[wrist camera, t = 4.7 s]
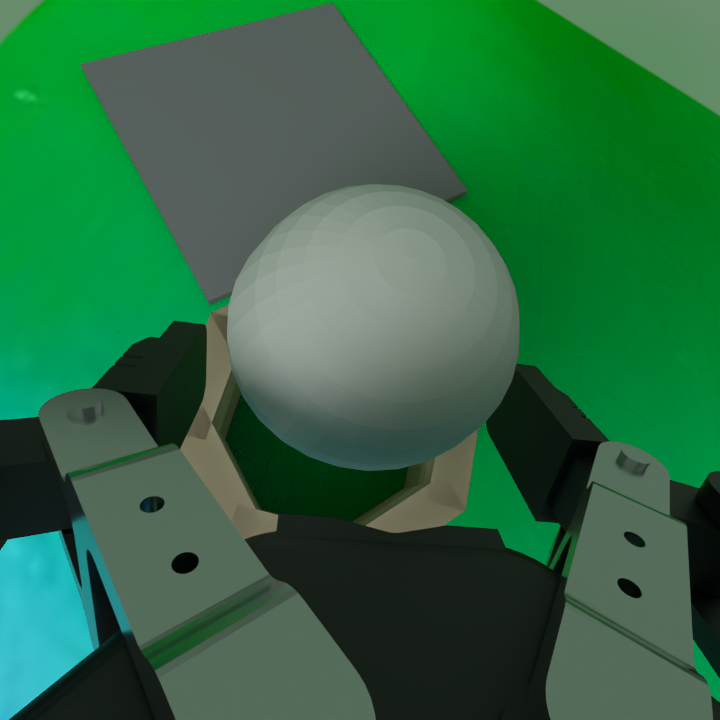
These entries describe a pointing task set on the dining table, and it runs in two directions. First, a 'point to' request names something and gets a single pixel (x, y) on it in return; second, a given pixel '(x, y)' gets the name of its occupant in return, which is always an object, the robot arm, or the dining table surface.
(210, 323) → the octagonal ring
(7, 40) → the dining table surface
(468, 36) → the dining table surface
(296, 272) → the lollipop
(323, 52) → the mat
